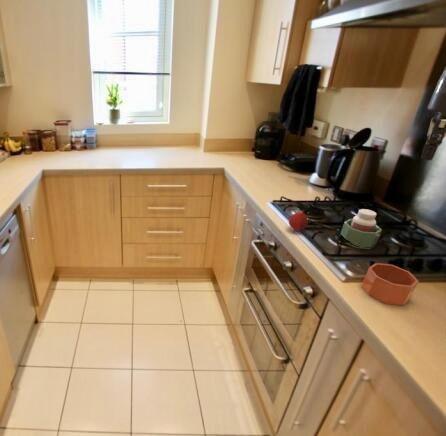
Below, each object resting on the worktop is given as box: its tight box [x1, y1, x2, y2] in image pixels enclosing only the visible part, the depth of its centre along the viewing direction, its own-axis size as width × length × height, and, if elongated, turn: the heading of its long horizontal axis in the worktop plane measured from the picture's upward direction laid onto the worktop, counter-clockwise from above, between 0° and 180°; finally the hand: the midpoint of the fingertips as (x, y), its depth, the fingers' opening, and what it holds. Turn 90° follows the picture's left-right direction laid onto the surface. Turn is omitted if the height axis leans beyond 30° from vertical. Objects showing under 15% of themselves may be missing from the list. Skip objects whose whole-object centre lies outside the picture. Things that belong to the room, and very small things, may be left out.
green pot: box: [339, 218, 383, 250], centre depth 105 cm, size 9×9×6 cm
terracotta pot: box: [361, 262, 420, 306], centre depth 83 cm, size 9×9×6 cm
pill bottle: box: [350, 208, 378, 232], centre depth 104 cm, size 6×6×11 cm
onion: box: [288, 210, 309, 232], centre depth 112 cm, size 6×6×8 cm
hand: (426, 155), depth 84 cm, fingers open, 8 cm apart
